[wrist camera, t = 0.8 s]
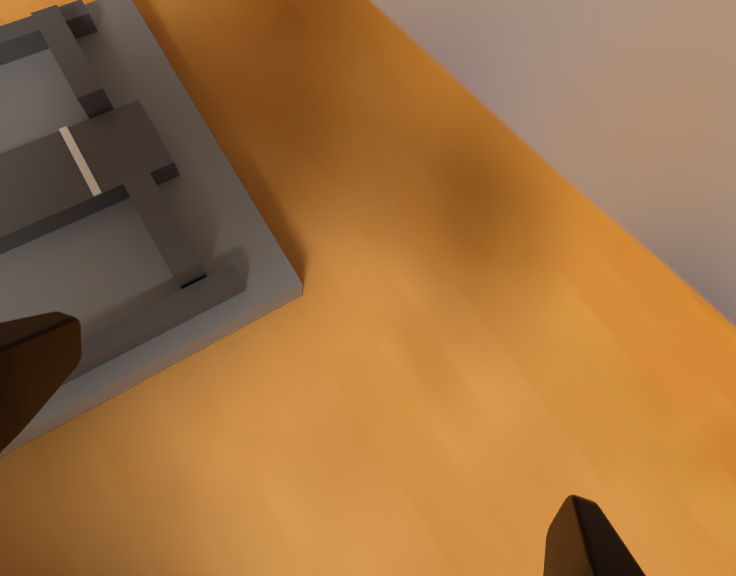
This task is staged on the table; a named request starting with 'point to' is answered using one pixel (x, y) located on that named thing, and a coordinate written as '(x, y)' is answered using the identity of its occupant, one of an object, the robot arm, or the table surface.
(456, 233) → the table surface
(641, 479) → the table surface
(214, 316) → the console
